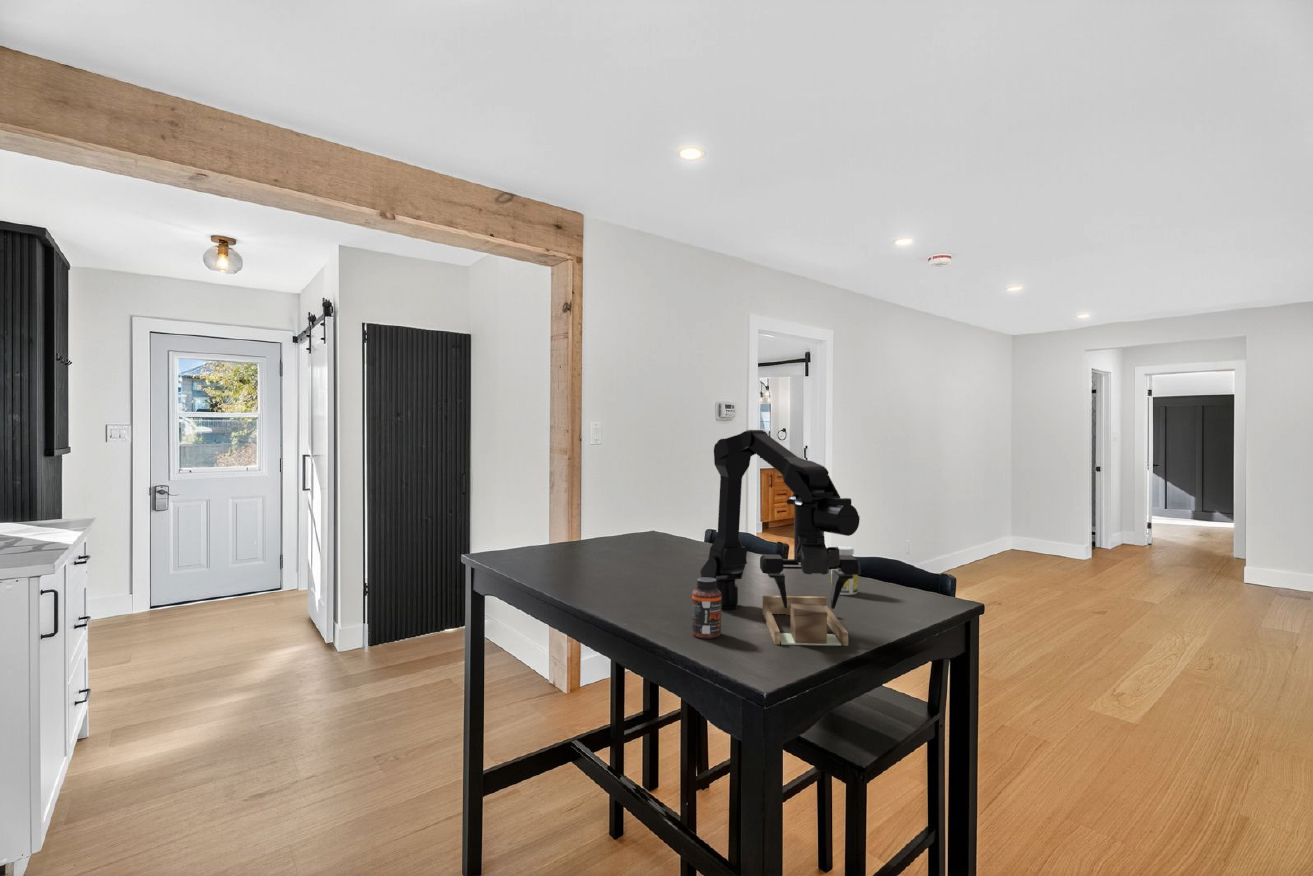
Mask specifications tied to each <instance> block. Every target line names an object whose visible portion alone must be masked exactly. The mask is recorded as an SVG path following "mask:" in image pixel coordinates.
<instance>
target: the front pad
mask: <svg viewBox="0 0 1313 876" xmlns="http://www.w3.org/2000/svg"><path fill="white" fill-rule="evenodd" d="M780 644H781V645H785V646H786V645H790V646H791V645H795V646H796V645H797V646H837V647H838V646H842V644H841V642H840V641H839V639H838V638H837V637H836V635H835V634H834V633H827V644H816V643H795V641H794V639H793V637H792V635H791V632H789V633H788V632H785V633H784V632H780Z"/></svg>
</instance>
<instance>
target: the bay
mask: <svg viewBox="0 0 1313 876" xmlns="http://www.w3.org/2000/svg"><path fill="white" fill-rule="evenodd" d="M786 596H787V608H785V607H784V605H783V602H782V598H781V595H762V615H764V616H763V618H764V620H766V621H765V623H766V625H767V628H769V629H768V631H769V634H770V633H771V634H770V636H771V639H772V641H774V642H773V643H774V644H773V645H780V644H781V642H780V633H781V632H780V631H781V630H780V629H779V627H778V624H777V622H776V619H775V617H774V615H772V614H778V615H777V616H780V615H779V614H786V615H785V616H791V608H790V604H821V605H822V607H823V608H824V609H825V611H826V612H827V626H828V627H829V628H830V630H831V631H832V633H833V634H835V636H837V639H838V640H839V641H840V643H841V646H845V647H847V646H849V632H848V631H847V629H846V628H845V627H844V626H843V624H842V623H841V622H840V620H839V619H838V618H837V616H836V615H835V614H834V613H833V612H832V609H830V608H829V606H828V605H827V597H826V596H812V595H811V596H810V595H809V596H804V595H803V596H800V595H797V596H796V595H795V596H794V595H786Z"/></svg>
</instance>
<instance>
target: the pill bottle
mask: <svg viewBox="0 0 1313 876" xmlns="http://www.w3.org/2000/svg"><path fill="white" fill-rule="evenodd" d="M836 547H838V549H839V554H840V555H852V556H853V555H854V552H855V551H854V550H855V549H854V547H852V546H848V545H847V546H845V545H840V546H839V545H838V546H836ZM853 557H854V556H853ZM832 570H835V569H830V572H831V573H830V577H831V578H830V580H831V582H830V585H831V584H832ZM853 576H854V577H853V579H848V580H847V581H846V582H845V584H844V586H843V587H842V589H841V592H840V595H839V596H853V595H854V596H855V595H856V594H857V593H858V588H859V587H858V576H859V575H853Z"/></svg>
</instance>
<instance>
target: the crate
mask: <svg viewBox="0 0 1313 876" xmlns="http://www.w3.org/2000/svg"><path fill="white" fill-rule="evenodd" d="M790 608H791V615H790V633H791V635H792V637H793V639H794V641H795V643H816V644H827V634H828V624H827V612H826V611H825V609H824V608H823V607H822V605H821V604H790Z"/></svg>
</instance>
